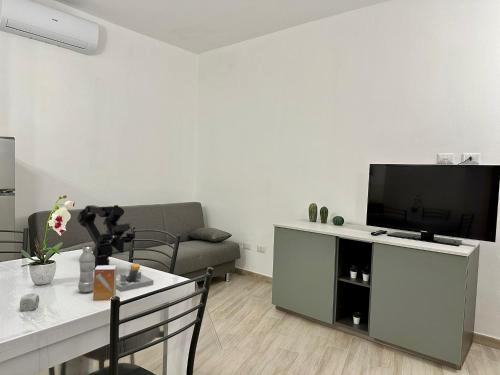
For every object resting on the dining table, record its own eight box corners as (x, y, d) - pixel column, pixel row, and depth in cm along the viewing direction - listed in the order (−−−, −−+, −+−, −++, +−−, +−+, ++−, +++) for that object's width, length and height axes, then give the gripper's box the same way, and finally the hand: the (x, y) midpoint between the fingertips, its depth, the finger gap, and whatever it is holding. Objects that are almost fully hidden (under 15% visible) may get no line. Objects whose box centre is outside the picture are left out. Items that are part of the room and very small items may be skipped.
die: (19, 311, 128) (19, 298, 128) (24, 306, 133) (25, 293, 133) (34, 310, 130) (34, 297, 129) (39, 305, 134) (39, 293, 134)
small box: (93, 300, 142) (93, 269, 142) (96, 295, 148) (97, 265, 148) (113, 299, 144) (114, 268, 143) (116, 294, 150) (117, 264, 150)
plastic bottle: (90, 288, 157) (92, 244, 156) (96, 292, 152) (97, 247, 151) (75, 291, 152) (76, 246, 151) (81, 295, 147) (82, 248, 146)
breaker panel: (107, 283, 163) (107, 273, 163) (139, 277, 175) (139, 267, 174) (120, 291, 153) (121, 280, 153) (153, 284, 165) (153, 273, 165)
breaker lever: (125, 279, 164) (131, 264, 160) (133, 278, 166) (138, 263, 162) (127, 283, 162) (133, 267, 158) (134, 281, 165) (140, 266, 161)
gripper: (103, 217, 169) (113, 244, 163) (135, 217, 184) (146, 242, 178) (92, 230, 174) (102, 257, 167) (125, 229, 189) (134, 254, 183)
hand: (122, 252), depth 174 cm, fingers closed
